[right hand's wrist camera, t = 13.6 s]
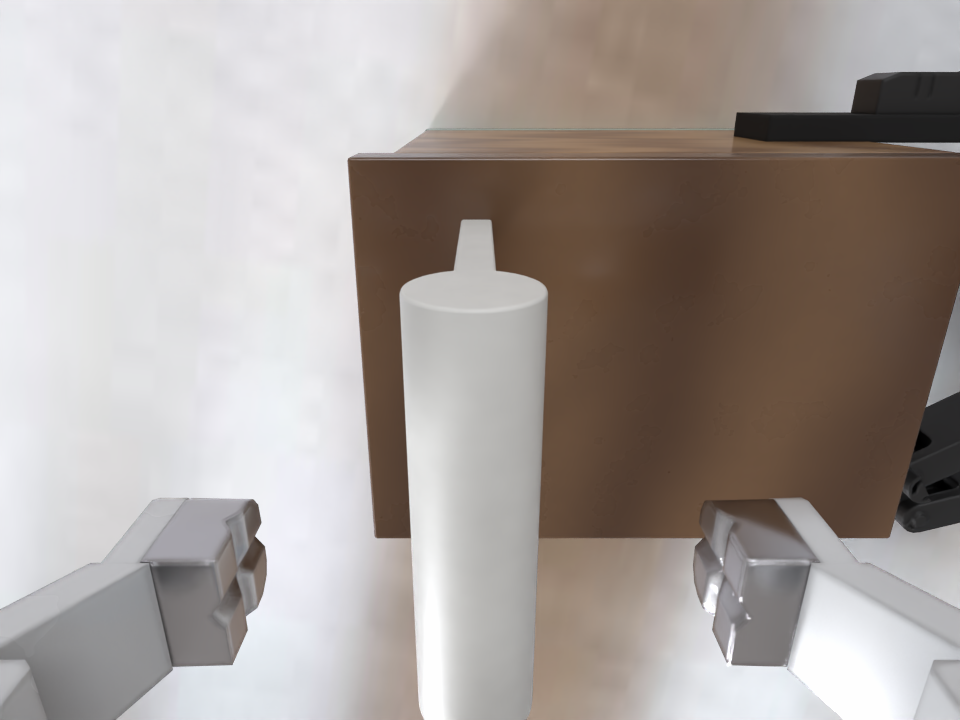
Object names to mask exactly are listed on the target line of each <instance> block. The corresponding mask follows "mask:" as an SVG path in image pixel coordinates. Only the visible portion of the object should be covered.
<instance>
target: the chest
mask: <svg viewBox="0 0 960 720" xmlns="http://www.w3.org/2000/svg"><path fill="white" fill-rule="evenodd" d="M395 153H955V152H948V151H940V150H932V149H924V148H916V147H908V146H900V145H892V144H884V143H876V142H765V141H759V140H753V139H747V138H741V137H735V136H734V129H427V130H426V131H425V132H424V133H422V134H421V135H419V136H418V137H417V138H415V139H414V140H412V141H411V142H409V143H408V144H406V145H405V146H404V147H402V148H401V149H399V150H398V151H396V152H395Z"/></svg>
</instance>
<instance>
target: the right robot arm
mask: <svg viewBox="0 0 960 720" xmlns="http://www.w3.org/2000/svg"><path fill="white" fill-rule="evenodd" d="M699 524H700V526H701V528H702V530H703V532H704V534H705V537H704V538H703V539H702V540H701V541H700V542H699V543H698V544H697V545H696V546H695V553H694V562H693V569H694V583H695V587H696V591H697V595H698V597H699V600H700V602H701V605H702V607H703V608H704V609H705V610H706V611H708V612H709V613H711V614H712V615H713V616H714V623H713V629H712V630H713V633H714V635H715V637H716V639H717V642H718V644H719V646H720V648H721V651H722V653H723V655H724V657H725V660H726V662H727V664H728V665H744V666H780V667H787V670H788V671H789V672H791V673H792V674H793V675H794V676H795V677H796V678H797V679H799V680H800V681H801V682H802V683H803V684H804V685H805V686H807V687H808V688H809V689H810V690H811V691H812V692H813V693H815V694H816V695H817V696H818V697H819V698H820V699H822V700H823V701H824V702H825V703H826V704H827V705H828V706H830V707H831V708H832V709H833V710H834V711H835V712H836V713H838V714H839V715H840V716H841V717H842V718H843V719H844V720H960V609H958V608H956V607H954V606H952V605H950V604H948V603H946V602H944V601H942V600H940V599H939V598H937V597H935V596H933V595H931V594H929V593H927V592H925V591H923V590H921V589H919V588H917V587H915V586H913V585H911V584H909V583H907V582H905V581H904V580H902V579H900V578H898V577H896V576H894V575H892V574H890V573H888V572H886V571H884V570H882V569H880V568H878V567H876V566H874V565H872V564H870V563H859V562H858V561H857V560H856V559H855V557H854V556H853V555H852V554H851V552H850V551H849V550H848V549H847V548H846V546H845V545H844V544H843V543H842V541H841V540H840V539H839V538H838V537H837V535H836V534H835V533H834V532H833V530H832V529H831V528H830V527H829V526H828V524H827V523H826V522H825V521H824V519H823V518H822V517H821V516H820V515H819V513H818V512H817V511H816V510H815V508H814V507H813V506H812V505H811V504H810V502H809V501H808V500H805V499H803V498H801V497H799V498H771V499H745V500H705V501H704V503H703V505H702V508H701V511H700V518H699ZM260 525H261V518H260V512H259V507H258V504H257V503H256V502H255V501H254V500H253V499H213V498H191V499H189V498H158V499H155V500H152V501H151V502H150V503H149V505H148V506H147V507H146V508H145V510H144V511H143V512H142V513H141V514H140V516H139V517H138V518H137V519H136V521H135V522H134V523H133V524H132V526H131V527H130V528H129V529H128V530H127V532H126V533H125V534H124V535H123V537H122V538H121V539H120V540H119V541H118V543H117V544H116V545H115V546H114V548H113V549H112V550H111V551H110V552H109V554H108V555H107V556H106V557H105V559H104V560H103V561H102V562H101V563H90V564H88V565H86V566H84V567H82V568H80V569H78V570H76V571H74V572H72V573H70V574H68V575H66V576H64V577H62V578H60V579H58V580H56V581H55V582H53V583H51V584H49V585H47V586H45V587H43V588H41V589H39V590H37V591H35V592H33V593H31V594H29V595H27V596H25V597H23V598H21V599H19V600H17V601H16V602H14V603H12V604H10V605H8V606H6V607H4V608H2V609H0V720H116V719H117V718H118V717H119V716H120V715H122V714H123V713H124V712H125V711H126V710H127V709H129V708H130V707H131V706H132V705H133V704H134V703H135V702H137V701H138V700H139V699H140V698H141V697H142V696H143V695H145V694H146V693H147V692H148V691H149V690H150V689H151V688H153V687H154V686H155V685H156V684H157V683H158V682H160V681H161V680H162V679H163V678H164V677H165V676H166V675H168V674H169V673H170V672H171V671H172V670H173V667H179V666H214V665H233V662H234V660H235V658H236V655H237V653H238V651H239V649H240V646H241V644H242V642H243V640H244V637H245V635H246V633H247V630H248V629H247V622H246V616H247V615H248V614H250V613H251V612H252V611H254V610H255V609H256V608H257V607H258V605H259V602H260V600H261V597H262V595H263V591H264V586H265V581H266V575H267V559H266V551H265V546H264V545H263V544H262V543H261V542H260V541H259V540H258V539H257V538H256V537H255V535H256V533H257V531H258V529H259V527H260Z"/></svg>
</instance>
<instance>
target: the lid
mask: <svg viewBox="0 0 960 720" xmlns="http://www.w3.org/2000/svg"><path fill="white" fill-rule="evenodd" d="M348 174H349V188H350V202H351V215H352V229H353V243H354V257H355V271H356V285H357V299H358V313H359V326H360V340H361V354H362V368H363V382H364V396H365V410H366V424H367V438H368V451H369V465H370V479H371V493H372V507H373V521H374V535H375V537H376V538H411V547H412V568H413V589H414V610H415V632H416V653H417V674H418V695H419V706H420V710H421V714H422V716H423V718H424V720H526V719H527V717H528V715H529V713H530V710H531V706H532V693H533V667H534V641H535V616H536V590H537V564H538V539H539V538H704V537H705V534H704V532H703V530H702V528H701V526H700V524H699V518H700V511H701V508H702V505H703V503H704V501H705V500H745V499H771V498H799V497H801V498H803V499H805V500H808V501H809V502H810V504H811V505H812V506H813V507H814V508H815V510H816V511H817V512H818V513H819V515H820V516H821V517H822V518H823V519H824V521H825V522H826V523H827V524H828V526H829V527H830V528H831V529H832V530H833V532H834V533H835V534H836V535H837V537H838V538H889V537H890V534H891V530H892V527H893V523H894V519H895V516H896V512H897V509H898V505H899V501H900V498H901V494H902V490H903V487H904V483H905V480H906V476H907V472H908V469H909V465H910V462H911V458H912V454H913V451H914V447H915V443H916V440H917V436H918V433H919V429H920V425H921V422H922V418H923V415H924V411H925V407H926V404H927V400H928V396H929V393H930V389H931V386H932V382H933V378H934V375H935V371H936V368H937V364H938V360H939V357H940V353H941V349H942V346H943V342H944V339H945V335H946V331H947V328H948V324H949V321H950V317H951V313H952V310H953V306H954V302H955V299H956V295H957V292H958V288H959V284H960V153H358V154H356V155H354V156H352V157H350V158H348Z"/></svg>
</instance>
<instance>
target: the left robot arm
mask: <svg viewBox="0 0 960 720" xmlns="http://www.w3.org/2000/svg"><path fill="white" fill-rule="evenodd" d="M734 136H735V137H741V138H747V139H753V140H759V141H765V142H884V143H960V71H959V72H894V73H875V74H872V75H870V76H867V77H865V78H862V79H860V80H857V85H856V90H855V95H854V100H853V105H852V110H851V113H737V115H736V122H735V129H734ZM895 519H896V521H897V522H898V523H899V524H900V525H901V526H902V527H903V528H904V529H906V530H907V531H909V532H913V533H915V532H922V531H926V530H931V529H935V528H939V527H943V526H947V525H952V524H956V523H960V392H958V393H956V394H954V395H952V396H950V397H947V398H945V399H943V400H941V401H939V402H937V403H935V404H932V405H930V406H928V407H926V408H925V411H924V415H923V418H922V422H921V425H920V429H919V433H918V436H917V440H916V443H915V447H914V451H913V454H912V458H911V462H910V465H909V469H908V472H907V476H906V480H905V483H904V487H903V490H902V494H901V498H900V501H899V505H898V509H897V512H896V516H895Z"/></svg>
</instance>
